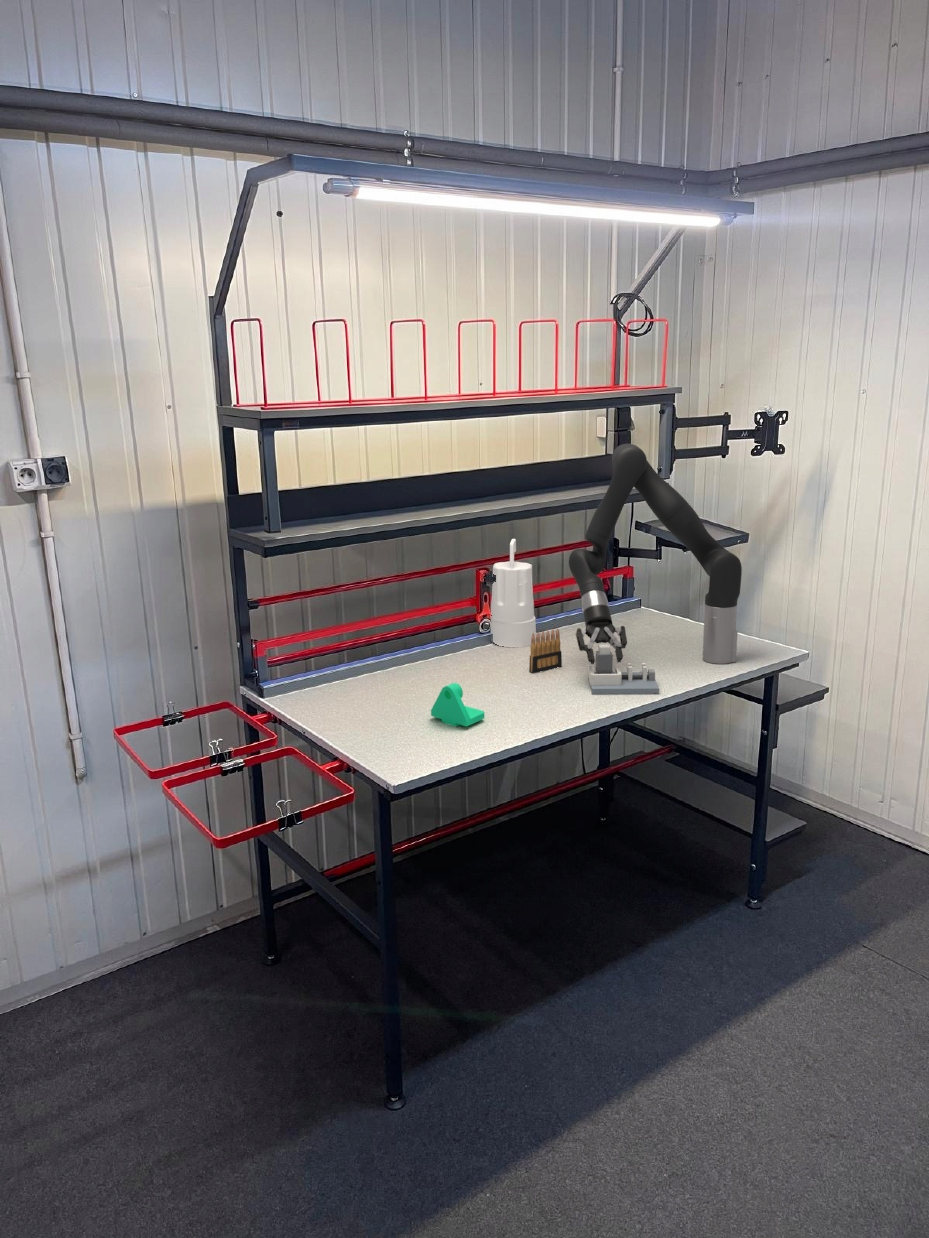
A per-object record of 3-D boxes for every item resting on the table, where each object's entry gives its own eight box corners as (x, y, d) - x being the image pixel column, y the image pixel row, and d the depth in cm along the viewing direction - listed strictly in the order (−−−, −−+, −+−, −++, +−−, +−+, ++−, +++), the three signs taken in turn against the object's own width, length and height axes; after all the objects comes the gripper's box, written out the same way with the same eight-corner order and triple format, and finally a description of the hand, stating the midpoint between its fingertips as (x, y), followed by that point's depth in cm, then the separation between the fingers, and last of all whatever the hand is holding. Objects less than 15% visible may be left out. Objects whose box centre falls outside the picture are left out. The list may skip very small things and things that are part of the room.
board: (651, 677, 258) (652, 658, 256) (658, 694, 244) (659, 674, 243) (587, 677, 259) (587, 659, 257) (591, 694, 245) (591, 674, 244)
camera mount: (486, 721, 229) (485, 683, 226) (466, 730, 223) (465, 691, 221) (451, 711, 236) (449, 674, 234) (431, 719, 231) (429, 681, 228)
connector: (609, 677, 253) (610, 643, 251) (612, 682, 250) (612, 647, 247) (595, 678, 253) (595, 644, 251) (597, 682, 249) (598, 648, 247)
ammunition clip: (532, 673, 264) (532, 634, 261) (529, 671, 265) (528, 632, 262) (562, 666, 269) (562, 628, 266) (558, 665, 271) (558, 626, 268)
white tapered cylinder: (488, 634, 304) (487, 537, 296) (533, 633, 305) (532, 535, 296) (492, 648, 289) (490, 545, 281) (538, 646, 290) (538, 544, 281)
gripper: (573, 604, 252) (583, 657, 244) (623, 602, 254) (634, 654, 246) (569, 618, 259) (578, 669, 251) (618, 615, 260) (628, 666, 252)
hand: (606, 661), depth 248 cm, fingers open, 7 cm apart
